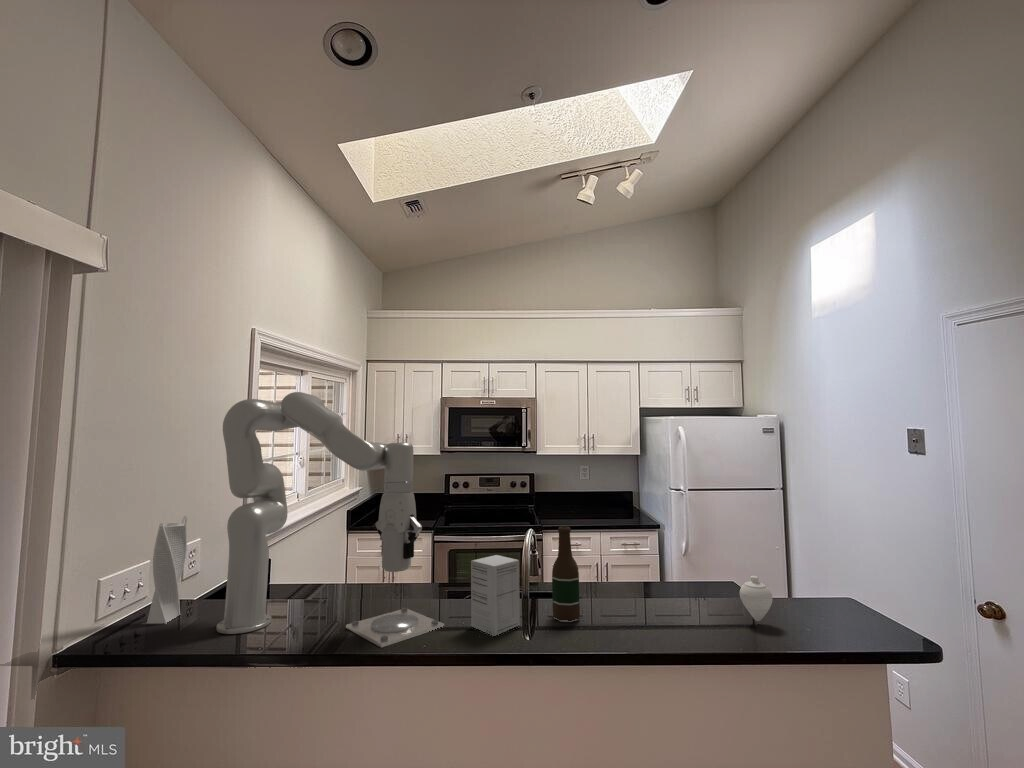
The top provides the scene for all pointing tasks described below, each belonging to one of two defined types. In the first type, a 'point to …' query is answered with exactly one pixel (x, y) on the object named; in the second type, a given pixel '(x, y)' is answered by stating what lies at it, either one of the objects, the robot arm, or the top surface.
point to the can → (393, 550)
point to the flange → (393, 627)
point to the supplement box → (495, 594)
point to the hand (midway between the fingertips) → (397, 556)
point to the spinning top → (756, 598)
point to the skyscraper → (168, 571)
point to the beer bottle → (565, 580)
